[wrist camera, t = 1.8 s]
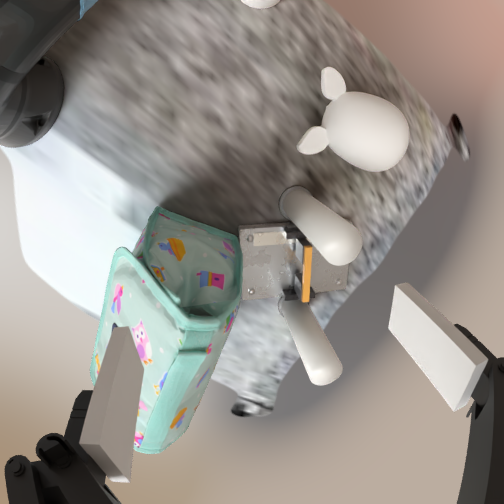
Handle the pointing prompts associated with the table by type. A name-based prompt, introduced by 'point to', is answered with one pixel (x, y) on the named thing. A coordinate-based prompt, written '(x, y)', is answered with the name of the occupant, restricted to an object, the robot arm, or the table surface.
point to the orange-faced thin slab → (303, 278)
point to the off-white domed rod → (321, 226)
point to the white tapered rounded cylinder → (311, 342)
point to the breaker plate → (282, 263)
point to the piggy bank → (357, 127)
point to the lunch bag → (172, 317)
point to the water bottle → (260, 3)
